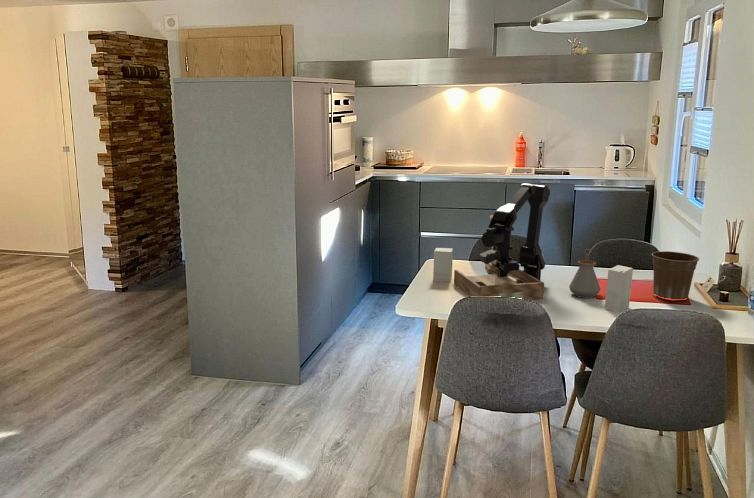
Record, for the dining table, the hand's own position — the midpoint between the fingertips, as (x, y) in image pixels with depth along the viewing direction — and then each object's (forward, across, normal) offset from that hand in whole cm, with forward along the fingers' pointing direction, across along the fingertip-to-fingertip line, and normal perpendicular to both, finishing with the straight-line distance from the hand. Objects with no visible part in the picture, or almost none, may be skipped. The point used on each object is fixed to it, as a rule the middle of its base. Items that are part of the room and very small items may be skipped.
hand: (500, 283), depth 255 cm
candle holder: (+4, -33, +14) cm, 36 cm away
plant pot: (+4, +19, +61) cm, 64 cm away
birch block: (+1, +5, 0) cm, 5 cm away
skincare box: (+4, +27, +33) cm, 43 cm away
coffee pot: (+4, +5, +33) cm, 34 cm away
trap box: (+4, -3, 0) cm, 5 cm away
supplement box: (+4, -24, -15) cm, 29 cm away
